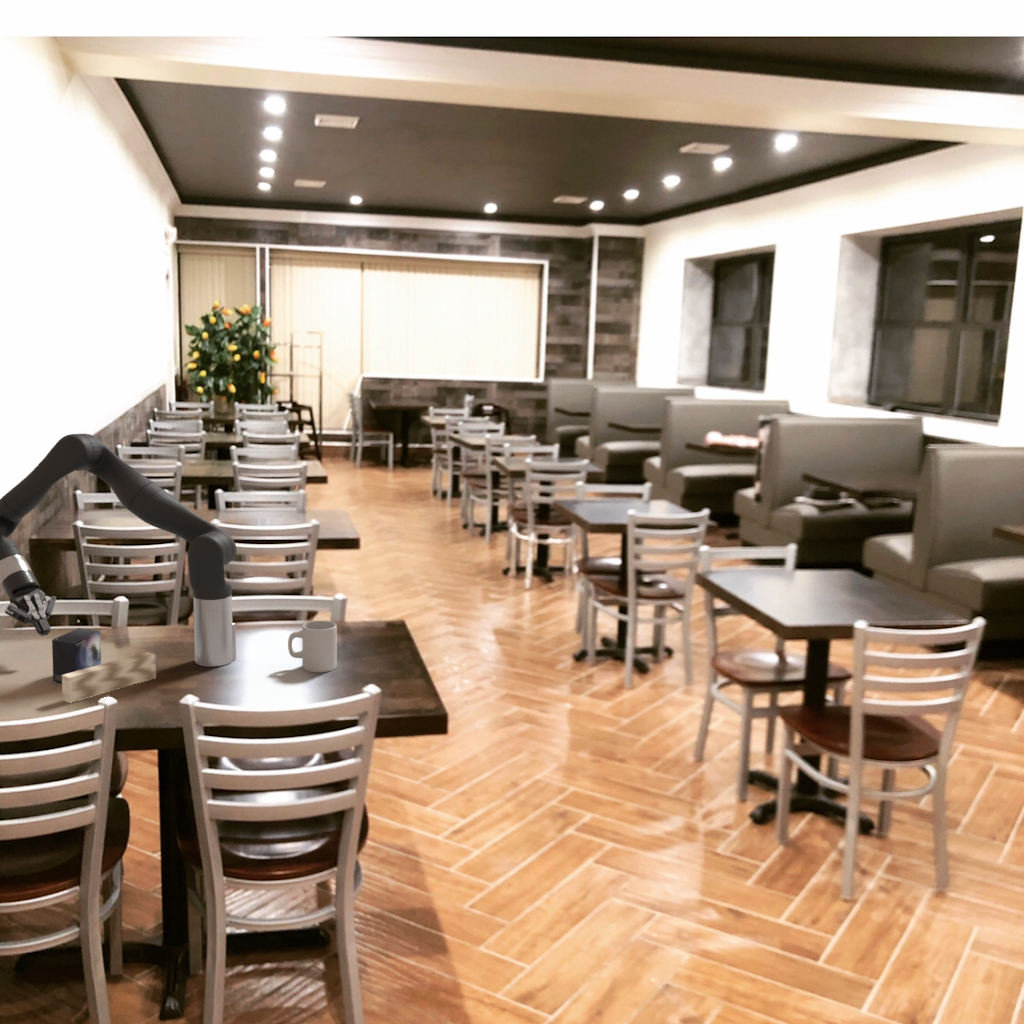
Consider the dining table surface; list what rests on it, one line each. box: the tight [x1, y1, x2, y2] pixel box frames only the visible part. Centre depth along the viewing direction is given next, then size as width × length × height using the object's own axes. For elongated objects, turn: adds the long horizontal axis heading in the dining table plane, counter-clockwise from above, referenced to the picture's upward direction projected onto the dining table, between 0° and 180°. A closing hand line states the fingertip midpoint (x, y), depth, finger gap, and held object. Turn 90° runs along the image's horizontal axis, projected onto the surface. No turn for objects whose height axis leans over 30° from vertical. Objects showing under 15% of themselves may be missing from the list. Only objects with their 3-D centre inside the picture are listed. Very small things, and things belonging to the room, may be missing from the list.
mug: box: [287, 620, 338, 673], centre depth 252 cm, size 12×8×11 cm
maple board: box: [61, 651, 157, 704], centre depth 233 cm, size 22×3×6 cm, turn 144°
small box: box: [51, 627, 102, 684], centre depth 241 cm, size 11×6×10 cm, turn 168°
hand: (46, 633), depth 248 cm, fingers closed
